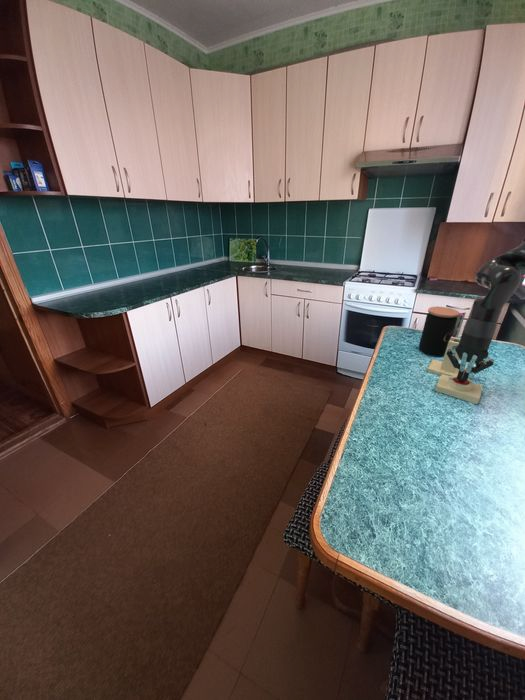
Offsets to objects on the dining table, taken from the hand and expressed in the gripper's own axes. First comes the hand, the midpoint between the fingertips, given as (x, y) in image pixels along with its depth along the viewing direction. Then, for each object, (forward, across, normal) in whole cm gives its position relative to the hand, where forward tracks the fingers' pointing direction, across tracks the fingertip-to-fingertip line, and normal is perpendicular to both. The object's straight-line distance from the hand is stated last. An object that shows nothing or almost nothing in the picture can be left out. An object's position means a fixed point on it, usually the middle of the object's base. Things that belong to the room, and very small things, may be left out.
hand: (461, 380), depth 95 cm
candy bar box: (+4, -12, +34) cm, 37 cm away
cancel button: (+2, 0, 0) cm, 2 cm away
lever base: (+4, -5, +12) cm, 14 cm away
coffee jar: (+4, -13, +27) cm, 30 cm away
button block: (+4, 0, 0) cm, 4 cm away
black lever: (-3, -1, +12) cm, 13 cm away
